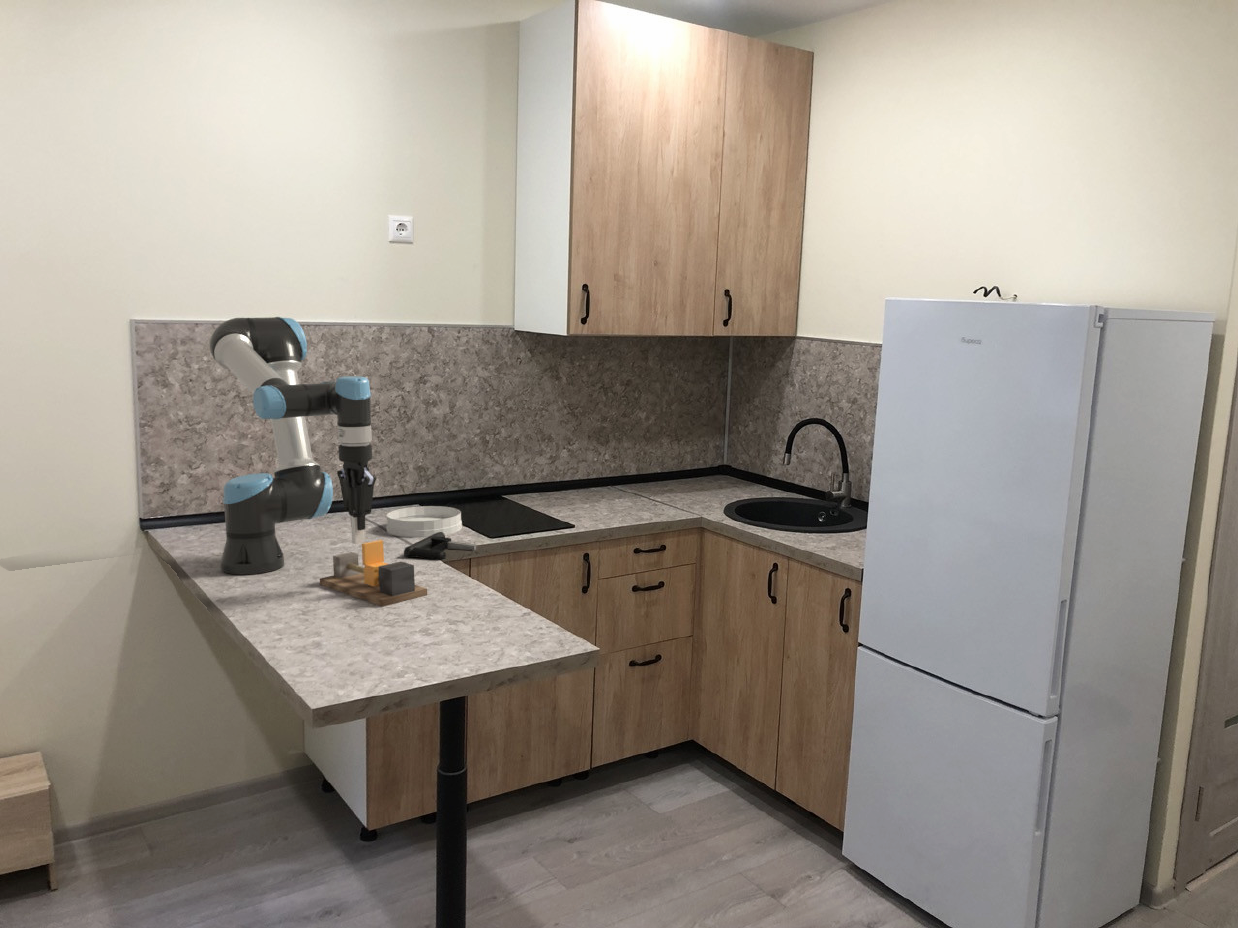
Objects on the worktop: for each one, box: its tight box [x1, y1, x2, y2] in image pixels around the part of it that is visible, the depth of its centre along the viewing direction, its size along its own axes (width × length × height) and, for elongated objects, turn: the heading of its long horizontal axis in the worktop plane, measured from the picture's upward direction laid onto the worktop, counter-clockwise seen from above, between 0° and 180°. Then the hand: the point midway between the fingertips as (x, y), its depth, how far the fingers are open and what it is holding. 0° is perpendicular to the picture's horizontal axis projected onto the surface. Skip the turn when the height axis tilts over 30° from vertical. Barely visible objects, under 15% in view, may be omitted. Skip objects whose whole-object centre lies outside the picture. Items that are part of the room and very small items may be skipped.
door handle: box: [403, 532, 477, 561], centre depth 265 cm, size 3×20×16 cm
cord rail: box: [319, 551, 428, 607], centre depth 228 cm, size 26×12×8 cm, turn 47°
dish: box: [385, 505, 463, 538], centre depth 292 cm, size 22×22×5 cm
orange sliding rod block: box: [361, 539, 388, 587], centre depth 226 cm, size 4×5×10 cm
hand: (358, 542), depth 230 cm, fingers closed
